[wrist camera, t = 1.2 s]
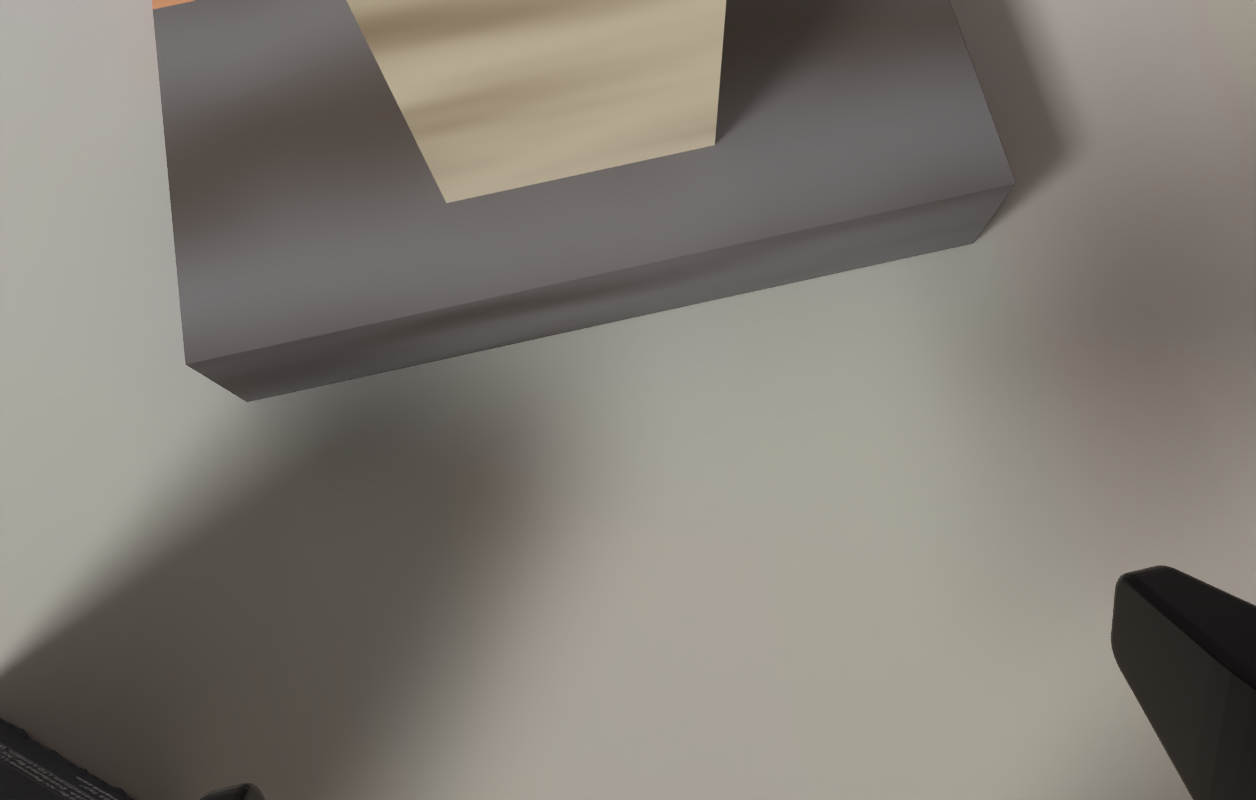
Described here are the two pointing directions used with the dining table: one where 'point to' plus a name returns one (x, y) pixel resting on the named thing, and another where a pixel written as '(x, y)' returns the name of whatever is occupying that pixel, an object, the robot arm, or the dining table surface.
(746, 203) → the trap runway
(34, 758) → the small box
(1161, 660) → the robot arm
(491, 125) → the birch block
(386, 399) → the dining table surface
